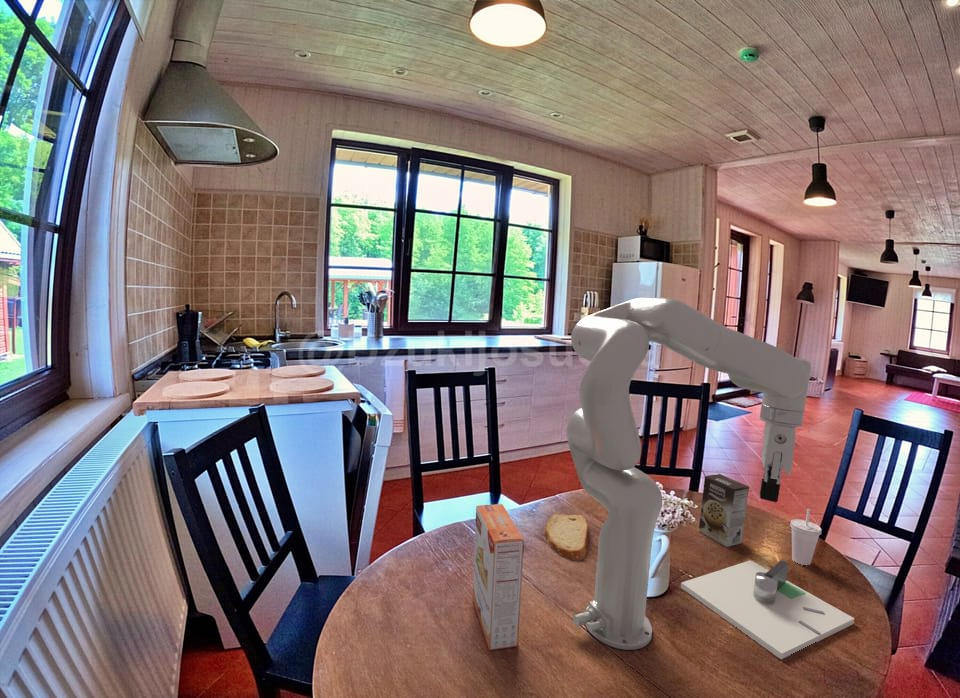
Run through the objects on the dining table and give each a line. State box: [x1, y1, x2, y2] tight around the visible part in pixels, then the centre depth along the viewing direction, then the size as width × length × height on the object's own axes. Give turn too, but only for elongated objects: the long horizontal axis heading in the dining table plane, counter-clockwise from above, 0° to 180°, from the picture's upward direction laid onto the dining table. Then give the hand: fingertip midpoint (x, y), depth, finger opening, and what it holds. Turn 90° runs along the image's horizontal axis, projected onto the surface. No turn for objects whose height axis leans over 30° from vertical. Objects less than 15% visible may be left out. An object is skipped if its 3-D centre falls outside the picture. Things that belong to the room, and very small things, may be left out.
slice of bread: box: [544, 512, 590, 561], centre depth 122 cm, size 18×18×4 cm
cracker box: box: [472, 503, 525, 651], centre depth 87 cm, size 14×6×21 cm, turn 13°
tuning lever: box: [753, 559, 789, 604], centre depth 100 cm, size 12×4×4 cm, turn 129°
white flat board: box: [680, 560, 856, 660], centre depth 98 cm, size 24×22×1 cm
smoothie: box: [789, 508, 822, 567], centre depth 115 cm, size 6×6×14 cm
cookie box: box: [698, 473, 750, 548], centre depth 125 cm, size 9×6×16 cm
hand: (768, 499), depth 98 cm, fingers closed
